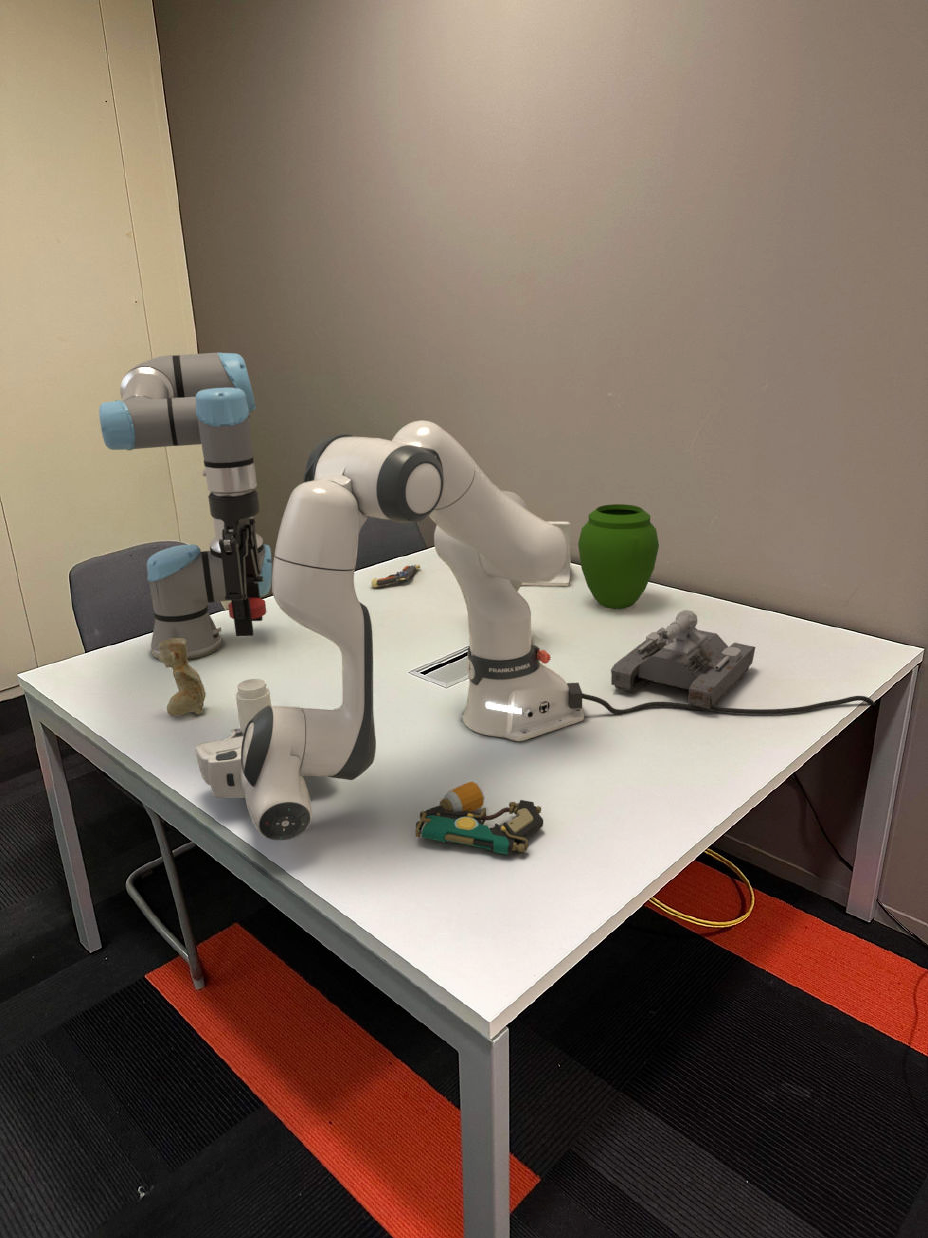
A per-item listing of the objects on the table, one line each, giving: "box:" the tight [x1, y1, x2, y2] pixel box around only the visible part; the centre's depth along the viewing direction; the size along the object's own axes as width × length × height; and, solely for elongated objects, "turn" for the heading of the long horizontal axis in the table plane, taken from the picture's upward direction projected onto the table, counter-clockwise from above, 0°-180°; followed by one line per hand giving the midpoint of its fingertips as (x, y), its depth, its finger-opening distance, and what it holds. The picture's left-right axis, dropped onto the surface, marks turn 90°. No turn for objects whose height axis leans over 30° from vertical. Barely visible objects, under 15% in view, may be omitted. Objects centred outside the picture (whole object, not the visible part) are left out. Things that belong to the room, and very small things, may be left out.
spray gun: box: [415, 781, 544, 856], centre depth 124 cm, size 4×17×15 cm
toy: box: [610, 609, 756, 710], centre depth 169 cm, size 25×20×15 cm
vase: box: [577, 503, 660, 610], centre depth 210 cm, size 20×20×24 cm
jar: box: [235, 678, 272, 736], centre depth 142 cm, size 5×5×15 cm
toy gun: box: [370, 564, 421, 588], centre depth 239 cm, size 3×19×10 cm
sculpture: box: [158, 638, 207, 717], centre depth 162 cm, size 6×7×15 cm
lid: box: [227, 597, 267, 620], centre depth 141 cm, size 6×6×2 cm
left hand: (249, 627), depth 142 cm, fingers closed on lid, 6 cm apart
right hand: (256, 729), depth 143 cm, fingers closed on jar, 5 cm apart
